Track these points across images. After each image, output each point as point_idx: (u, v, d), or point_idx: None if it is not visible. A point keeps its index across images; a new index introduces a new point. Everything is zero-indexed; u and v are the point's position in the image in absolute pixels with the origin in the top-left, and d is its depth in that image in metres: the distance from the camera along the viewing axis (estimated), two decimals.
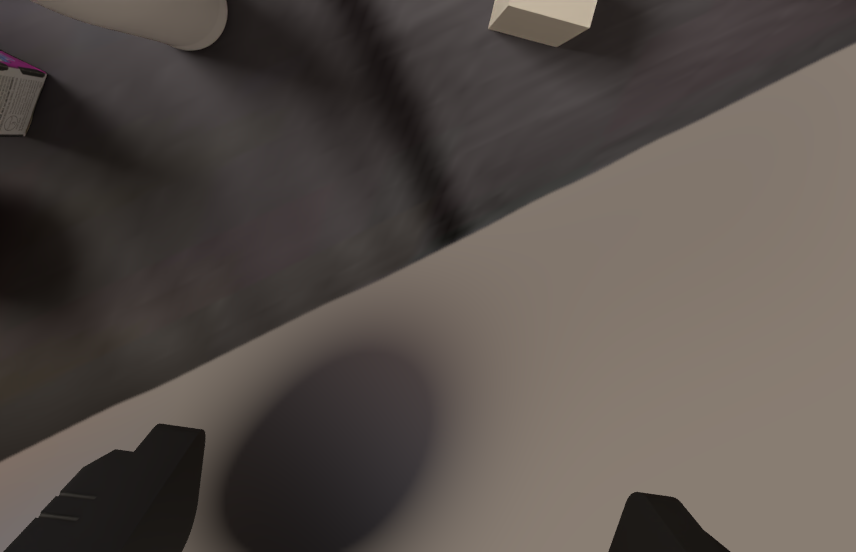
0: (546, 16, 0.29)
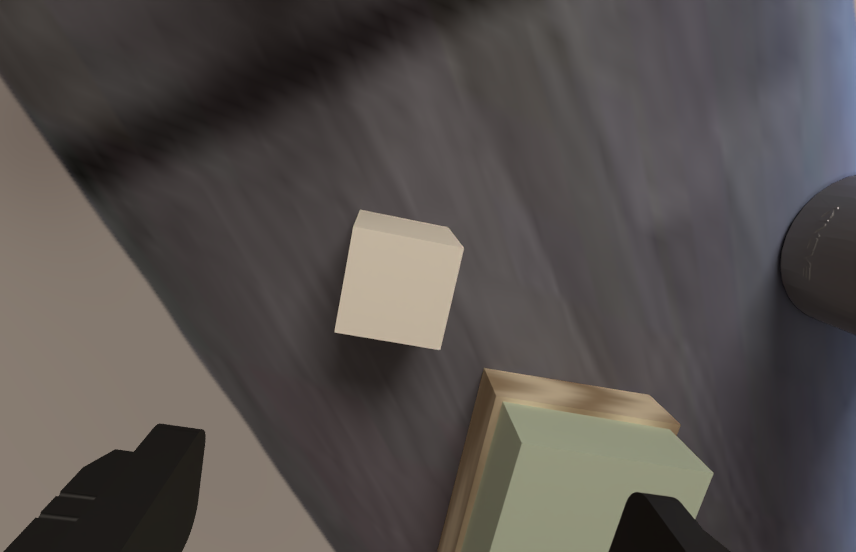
0: (344, 276, 0.22)
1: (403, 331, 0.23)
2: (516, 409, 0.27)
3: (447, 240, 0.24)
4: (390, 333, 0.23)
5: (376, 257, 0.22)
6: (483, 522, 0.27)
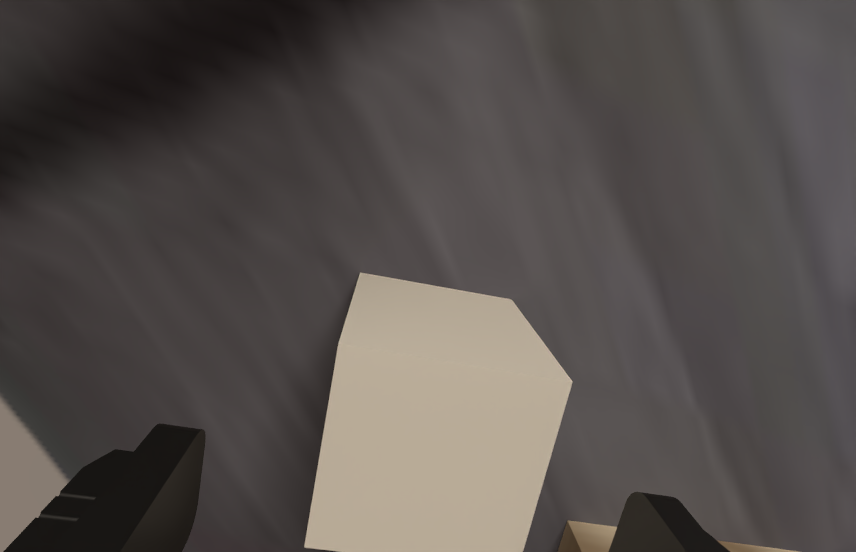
0: (322, 441, 0.11)
1: (444, 542, 0.12)
2: None
3: (530, 354, 0.12)
4: (417, 546, 0.11)
5: (388, 405, 0.11)
6: None
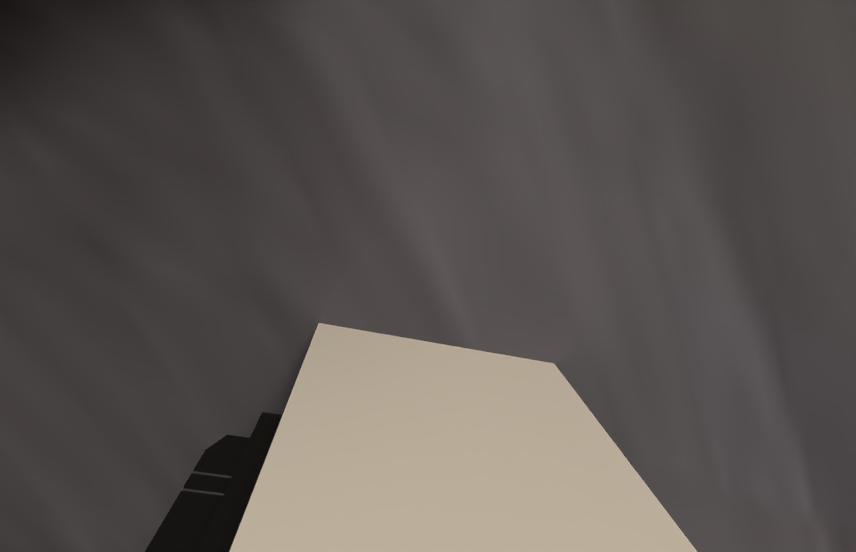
0: None
1: None
2: None
3: (633, 523, 0.06)
4: None
5: None
6: None
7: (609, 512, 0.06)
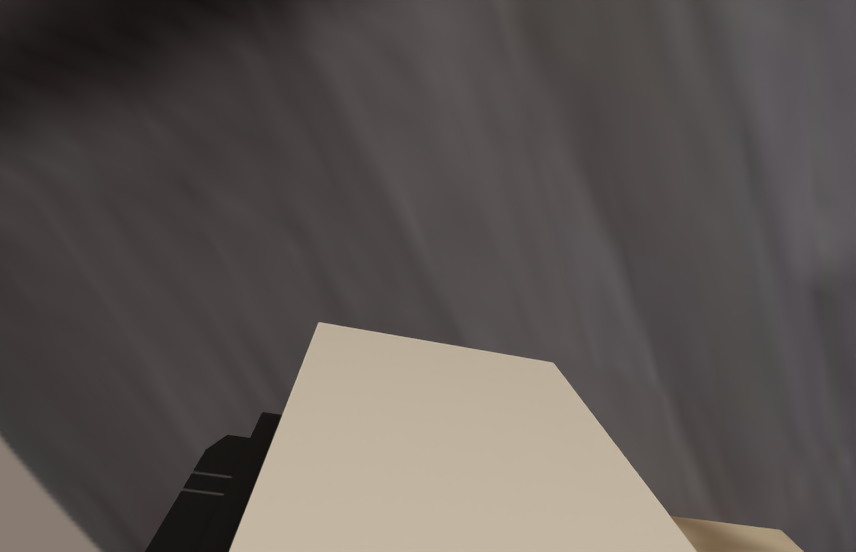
0: None
1: None
2: None
3: (632, 521, 0.06)
4: None
5: None
6: None
7: (608, 510, 0.06)
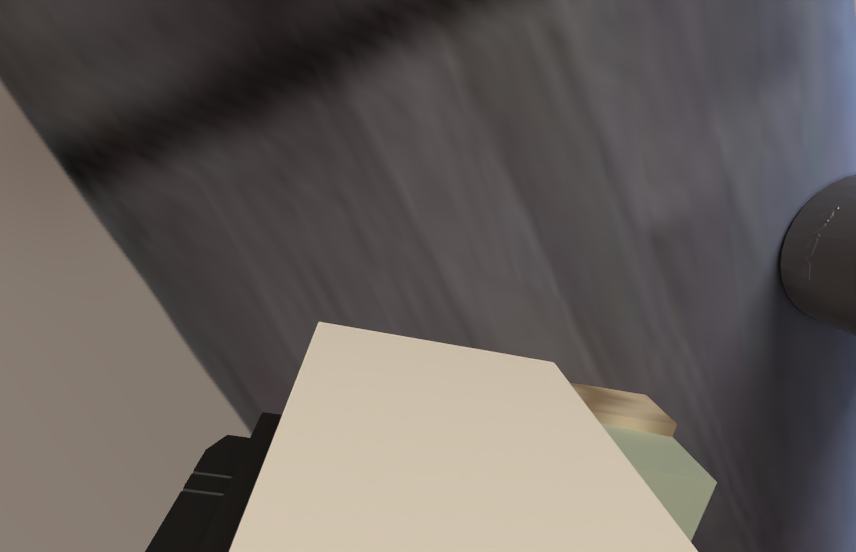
0: None
1: None
2: None
3: (633, 521, 0.06)
4: None
5: None
6: None
7: (608, 510, 0.06)
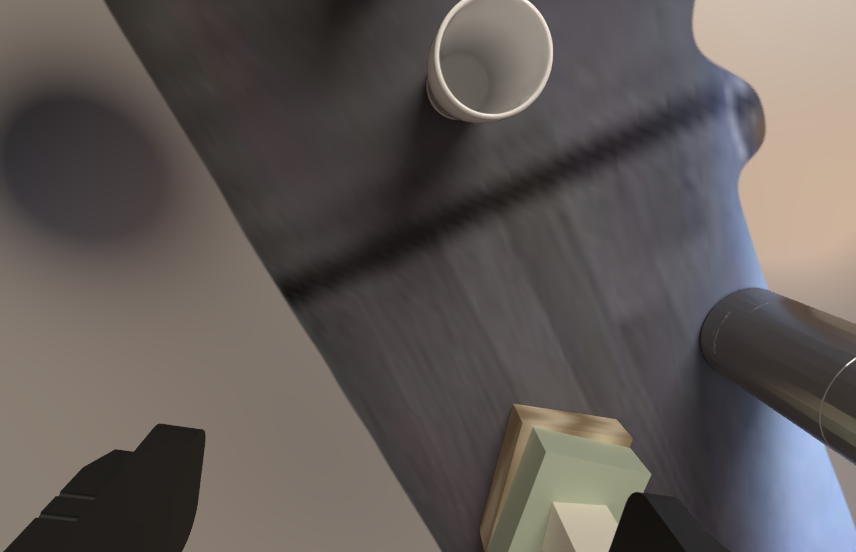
0: None
1: None
2: (541, 431, 0.46)
3: None
4: None
5: None
6: (518, 496, 0.46)
7: None
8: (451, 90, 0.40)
